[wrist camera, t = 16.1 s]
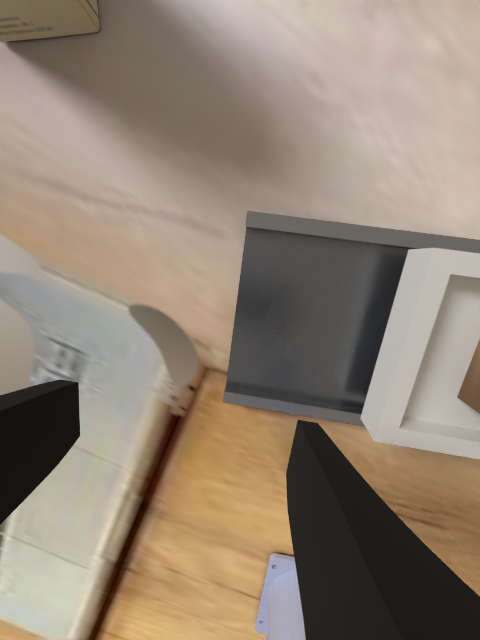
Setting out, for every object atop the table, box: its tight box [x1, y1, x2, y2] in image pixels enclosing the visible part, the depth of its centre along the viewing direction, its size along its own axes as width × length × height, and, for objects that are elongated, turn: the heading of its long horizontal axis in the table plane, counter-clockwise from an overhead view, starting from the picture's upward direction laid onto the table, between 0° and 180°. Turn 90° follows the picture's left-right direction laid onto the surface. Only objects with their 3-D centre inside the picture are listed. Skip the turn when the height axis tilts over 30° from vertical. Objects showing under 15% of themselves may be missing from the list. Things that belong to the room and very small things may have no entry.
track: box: [223, 211, 480, 426], centre depth 15 cm, size 12×23×3 cm, turn 82°
